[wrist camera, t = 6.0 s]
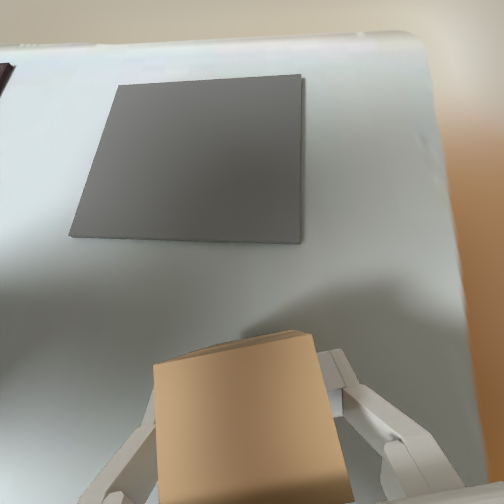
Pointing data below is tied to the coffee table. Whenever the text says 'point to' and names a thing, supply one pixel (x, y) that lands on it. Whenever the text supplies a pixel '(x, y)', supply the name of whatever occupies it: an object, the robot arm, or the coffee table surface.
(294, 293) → the coffee table surface
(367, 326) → the coffee table surface
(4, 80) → the chocolate bar
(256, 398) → the oak block
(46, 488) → the coffee table surface
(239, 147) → the charcoal mat
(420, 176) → the coffee table surface
